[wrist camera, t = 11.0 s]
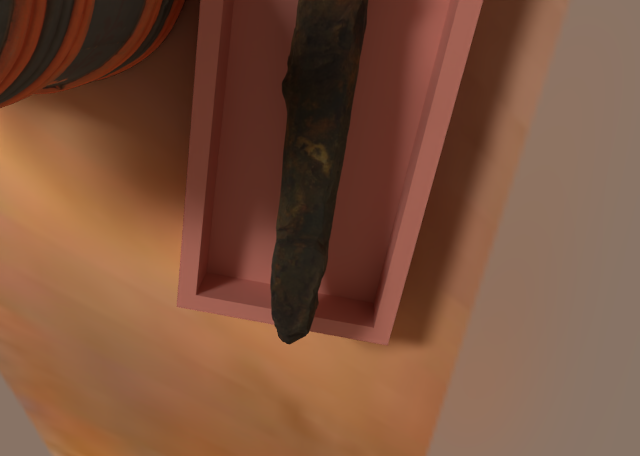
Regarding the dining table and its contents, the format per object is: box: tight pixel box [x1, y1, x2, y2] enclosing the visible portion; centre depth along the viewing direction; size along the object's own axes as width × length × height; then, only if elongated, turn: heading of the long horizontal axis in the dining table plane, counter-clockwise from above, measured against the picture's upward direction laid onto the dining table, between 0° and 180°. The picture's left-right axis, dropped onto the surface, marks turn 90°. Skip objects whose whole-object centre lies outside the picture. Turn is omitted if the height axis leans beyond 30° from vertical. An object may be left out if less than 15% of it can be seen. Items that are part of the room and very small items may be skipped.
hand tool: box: [270, 0, 368, 344], centre depth 28 cm, size 19×4×5 cm, turn 171°
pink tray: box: [177, 0, 483, 345], centre depth 29 cm, size 26×12×4 cm, turn 170°
